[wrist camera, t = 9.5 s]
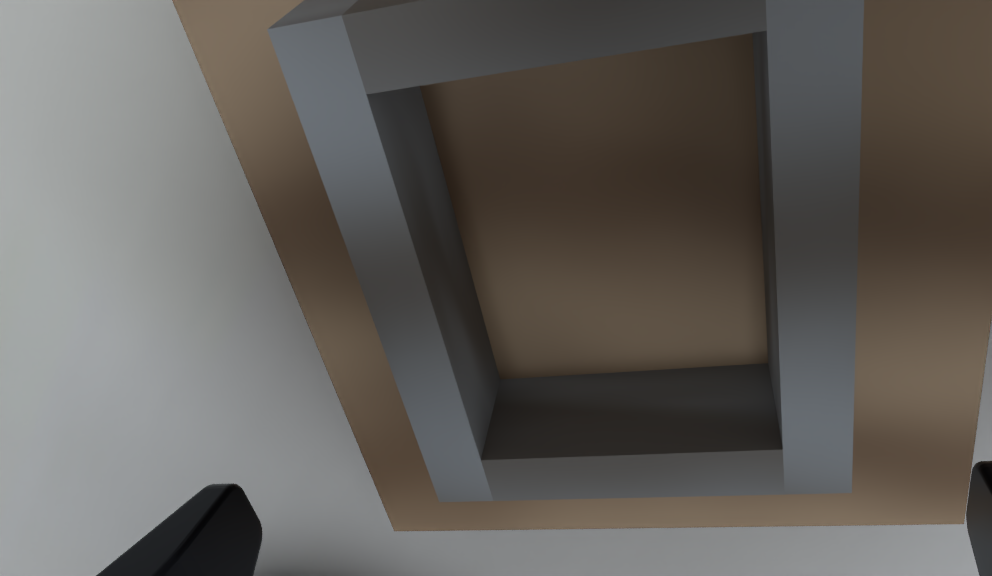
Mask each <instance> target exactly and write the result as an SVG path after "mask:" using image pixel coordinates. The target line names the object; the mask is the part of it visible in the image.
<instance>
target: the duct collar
mask: <svg viewBox="0 0 992 576" xmlns="http://www.w3.org/2000/svg"><path fill="white" fill-rule="evenodd" d="M172 1H173V3H174V6H175V8H176V10H177V13H178V15H179V18H180V20H181V22H182V25H183V27H184V30H185V32H186V34H187V37H188V39H189V42H190V44H191V46H192V49H193V51H194V53H195V56H196V58H197V61H198V63H199V65H200V68H201V70H202V73H203V75H204V77H205V80H206V82H207V85H208V87H209V89H210V92H211V94H212V96H213V99H214V101H215V104H216V106H217V108H218V111H219V113H220V116H221V118H222V120H223V123H224V125H225V128H226V130H227V132H228V135H229V137H230V140H231V142H232V144H233V147H234V149H235V151H236V154H237V156H238V159H239V161H240V163H241V166H242V168H243V171H244V173H245V175H246V178H247V180H248V183H249V185H250V187H251V190H252V192H253V194H254V197H255V199H256V202H257V204H258V206H259V209H260V211H261V214H262V216H263V218H264V221H265V223H266V226H267V228H268V230H269V233H270V235H271V237H272V240H273V242H274V245H275V247H276V249H277V252H278V254H279V257H280V259H281V261H282V264H283V266H284V269H285V271H286V273H287V276H288V278H289V281H290V283H291V285H292V288H293V290H294V292H295V295H296V297H297V300H298V302H299V304H300V307H301V309H302V312H303V314H304V316H305V319H306V321H307V324H308V326H309V328H310V331H311V333H312V335H313V338H314V340H315V343H316V345H317V347H318V350H319V352H320V355H321V357H322V359H323V362H324V364H325V367H326V369H327V371H328V374H329V376H330V379H331V381H332V383H333V386H334V388H335V390H336V393H337V395H338V398H339V400H340V402H341V405H342V407H343V410H344V412H345V414H346V417H347V419H348V422H349V424H350V426H351V429H352V431H353V433H354V436H355V438H356V441H357V443H358V445H359V448H360V450H361V453H362V455H363V457H364V460H365V462H366V465H367V467H368V469H369V472H370V474H371V477H372V479H373V481H374V484H375V486H376V488H377V491H378V493H379V496H380V498H381V500H382V503H383V505H384V508H385V510H386V512H387V515H388V517H389V520H390V522H391V524H392V527H393V529H394V531H450V530H528V529H607V528H686V527H764V526H843V525H921V524H964V519H965V512H966V504H967V497H968V489H969V482H970V474H971V467H972V459H973V452H974V444H975V437H976V429H977V422H978V414H979V407H980V399H981V392H982V384H983V377H984V369H985V362H986V354H987V347H988V339H989V332H990V324H991V317H992V0H172Z"/></svg>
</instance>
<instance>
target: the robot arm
mask: <svg viewBox="0 0 992 576" xmlns="http://www.w3.org/2000/svg"><path fill="white" fill-rule="evenodd" d="M966 520H967V528H968V533H969V537H970V541H971V545H972V549H973V553H974V556H975V560H976V564H977V568H978V572H979V575H980V576H992V461H981V462H978V463H976V464H975V465H974V467H973V469H972V474H971V482H970V489H969V496H968V504H967V512H966ZM261 541H262V527H261V523H260V520H259V519H258V517H257V515H256V513H255V511H254V509H253V508H252V506H251V504H250V502H249V500H248V498H247V496H246V495H245V493H244V491H243V489H242V488H241V487H240V486H238V485H237V484H212V485H209V486H206V487H205V488H204V489H202V490H201V491H200V492H198V493H197V494H196V495H195V496H194V497H192V498H191V499H190V500H189V501H187V502H186V503H185V504H184V505H183V506H181V507H180V508H179V509H178V510H176V511H175V512H174V513H173V514H171V515H170V516H169V517H168V518H167V519H165V520H164V521H163V522H162V523H160V524H159V525H158V526H157V527H155V528H154V529H153V530H152V531H151V532H149V533H148V534H147V535H146V536H144V537H143V538H142V539H141V540H140V541H138V542H137V543H136V544H135V545H133V546H132V547H131V548H130V549H128V550H127V551H126V552H125V553H124V554H122V555H121V556H120V557H119V558H117V559H116V560H115V561H114V562H113V563H111V564H110V565H109V566H108V567H106V568H105V569H104V570H103V571H101V572H100V573H99V574H98V575H97V576H253V574H254V570H255V566H256V562H257V558H258V554H259V550H260V546H261Z"/></svg>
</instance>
